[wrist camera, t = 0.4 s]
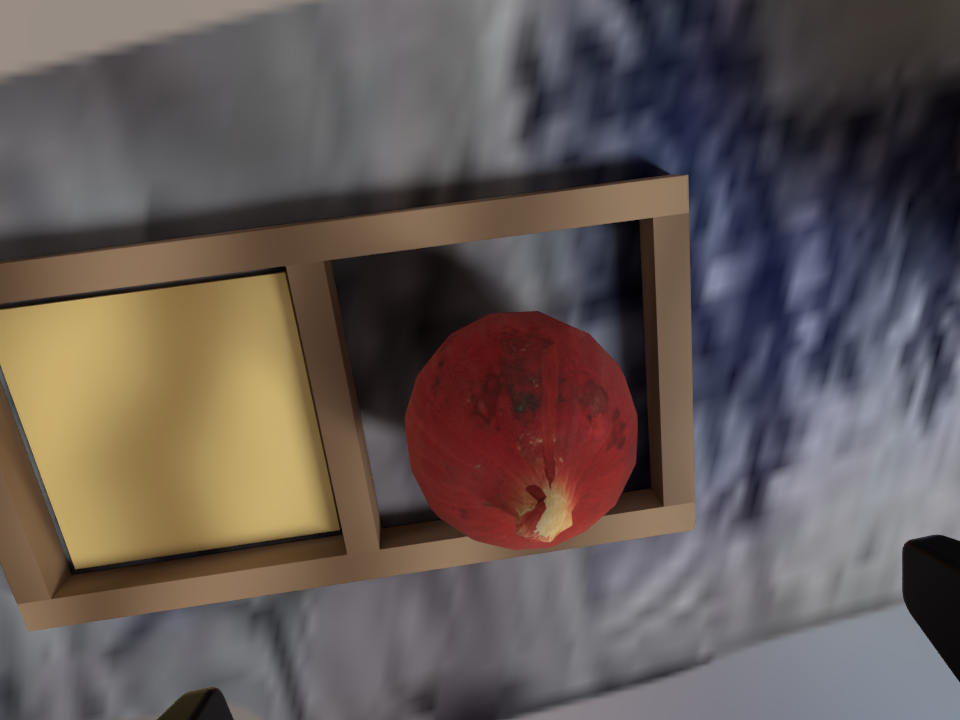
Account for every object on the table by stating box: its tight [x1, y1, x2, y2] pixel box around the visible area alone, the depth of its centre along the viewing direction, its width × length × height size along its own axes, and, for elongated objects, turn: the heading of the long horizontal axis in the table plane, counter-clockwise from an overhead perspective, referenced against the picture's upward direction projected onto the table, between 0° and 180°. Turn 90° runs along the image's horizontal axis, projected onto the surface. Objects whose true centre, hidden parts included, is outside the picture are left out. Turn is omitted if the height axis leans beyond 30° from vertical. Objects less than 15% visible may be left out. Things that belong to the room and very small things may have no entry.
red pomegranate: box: [405, 311, 638, 550], centre depth 16 cm, size 6×6×8 cm
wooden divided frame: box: [0, 174, 695, 631], centre depth 19 cm, size 21×11×1 cm, turn 97°
